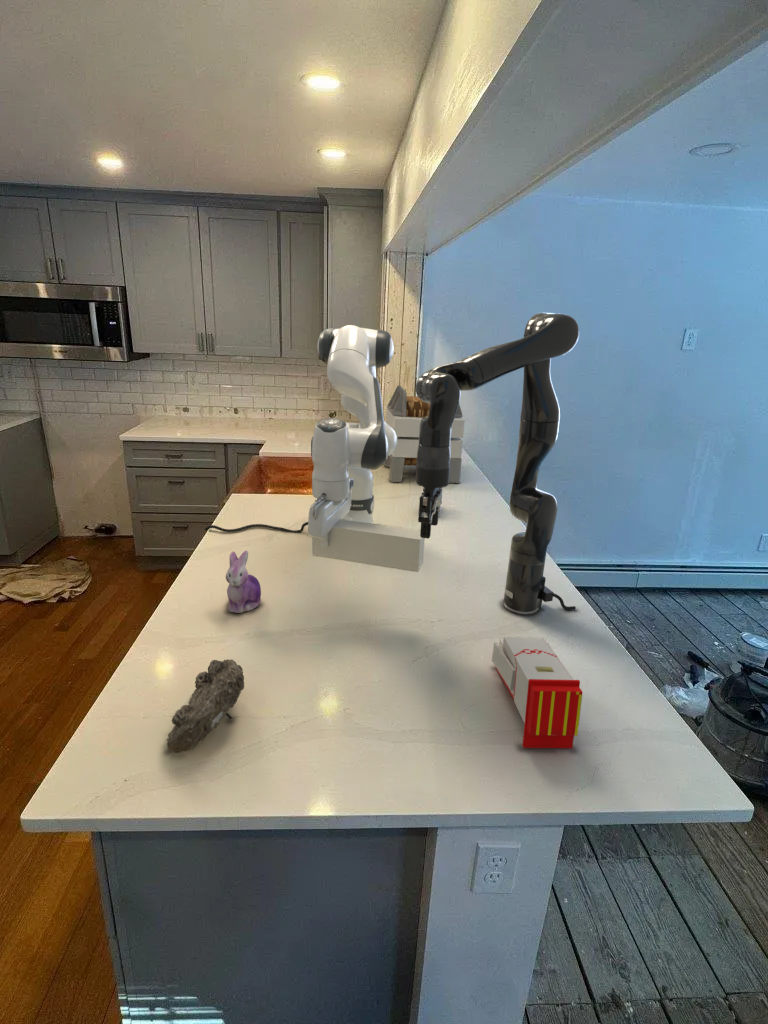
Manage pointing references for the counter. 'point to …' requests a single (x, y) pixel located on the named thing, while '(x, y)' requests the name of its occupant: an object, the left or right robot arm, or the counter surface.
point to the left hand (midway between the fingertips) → (330, 541)
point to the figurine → (241, 585)
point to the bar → (373, 545)
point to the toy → (539, 691)
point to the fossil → (206, 705)
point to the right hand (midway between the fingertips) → (429, 530)
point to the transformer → (417, 434)
